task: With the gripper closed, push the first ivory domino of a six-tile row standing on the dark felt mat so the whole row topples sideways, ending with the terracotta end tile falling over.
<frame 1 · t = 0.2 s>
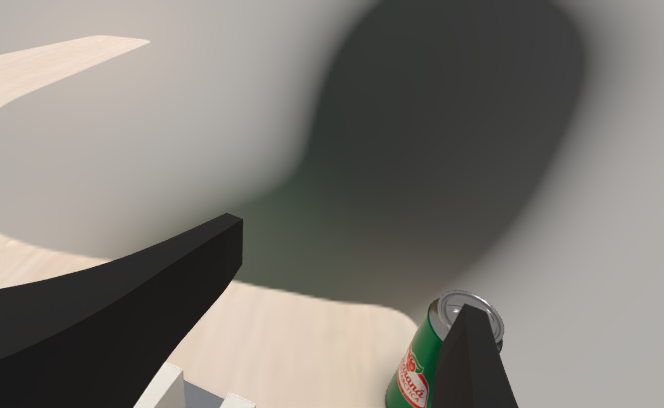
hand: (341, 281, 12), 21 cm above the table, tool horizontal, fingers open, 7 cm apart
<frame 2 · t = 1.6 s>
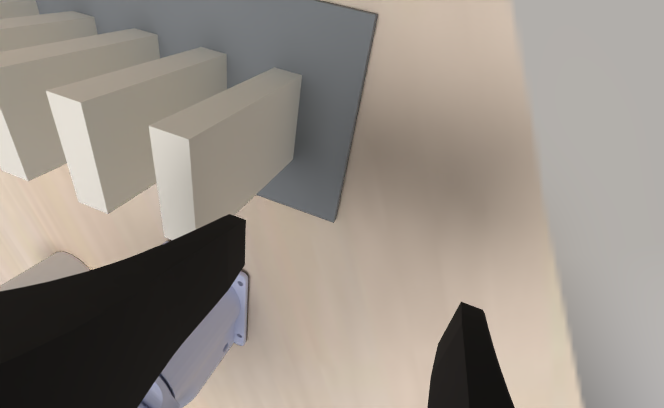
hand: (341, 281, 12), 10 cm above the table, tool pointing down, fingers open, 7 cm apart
domino 3: (151, 75, 23), resting on felt mat
domino 2: (215, 94, 22), resting on felt mat
domino 1: (284, 116, 21), resting on felt mat
domino 5: (38, 40, 25), resting on felt mat
felt mat: (123, 63, 24), on the table
drinking glass: (77, 271, 41), on the table
domino 4: (92, 57, 24), resting on felt mat
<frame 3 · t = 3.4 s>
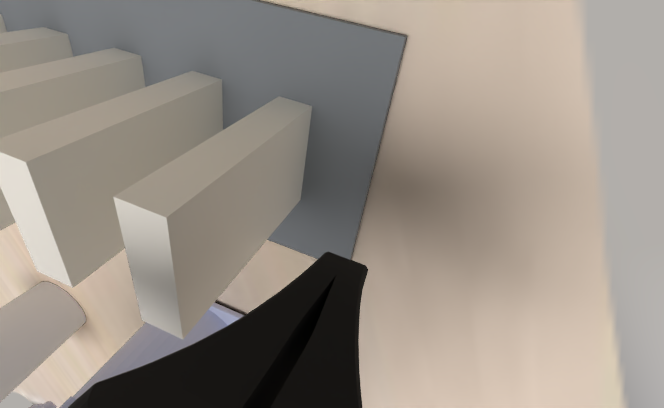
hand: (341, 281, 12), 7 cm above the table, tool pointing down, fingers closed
domino 3: (135, 101, 20), resting on felt mat
domino 2: (209, 125, 19), resting on felt mat
domino 1: (290, 151, 18), resting on felt mat
felt mat: (103, 86, 20), on the table
drinking glass: (64, 302, 38), on the table
domino 4: (68, 79, 21), resting on felt mat
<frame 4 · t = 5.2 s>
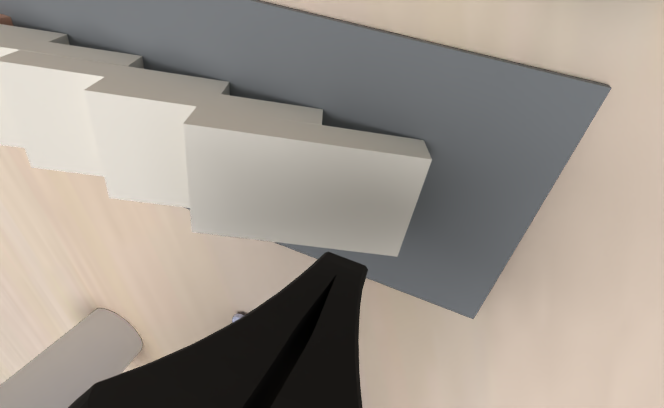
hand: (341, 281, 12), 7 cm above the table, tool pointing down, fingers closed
domino 3: (226, 139, 18), point 1 cm above the table, tilted 70°, touching domino 2, domino 4, felt mat
domino 2: (314, 168, 17), point 1 cm above the table, tilted 70°, touching domino 1, domino 3, felt mat
domino 1: (409, 201, 16), point 1 cm above the table, tilted 70°, touching domino 2
domino 5: (70, 88, 20), point 1 cm above the table, tilted 68°, touching domino 4, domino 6
felt mat: (212, 122, 19), on the table
drinking glass: (119, 328, 36), on the table
domino 4: (142, 111, 19), point 1 cm above the table, tilted 68°, touching domino 3, domino 5, felt mat
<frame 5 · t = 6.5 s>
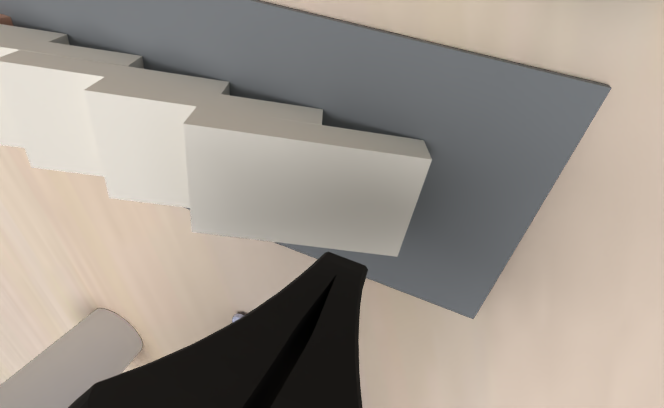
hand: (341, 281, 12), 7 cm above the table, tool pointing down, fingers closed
domino 3: (226, 139, 18), point 1 cm above the table, tilted 70°, touching domino 2, domino 4, felt mat
domino 2: (314, 168, 17), point 1 cm above the table, tilted 70°, touching domino 1, domino 3, felt mat
domino 1: (409, 201, 16), point 1 cm above the table, tilted 70°, touching domino 2
domino 5: (70, 88, 20), point 1 cm above the table, tilted 68°, touching domino 4, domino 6
felt mat: (212, 122, 19), on the table
drinking glass: (119, 328, 36), on the table
domino 4: (142, 111, 19), point 1 cm above the table, tilted 68°, touching domino 3, domino 5, felt mat
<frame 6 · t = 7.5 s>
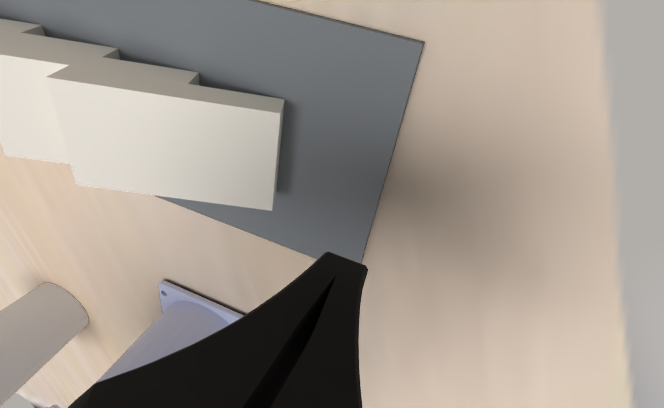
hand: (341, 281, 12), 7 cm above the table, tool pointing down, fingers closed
domino 3: (119, 103, 19), point 1 cm above the table, tilted 70°, touching domino 2, domino 4, felt mat
domino 2: (196, 129, 18), point 1 cm above the table, tilted 70°, touching domino 1, domino 3, felt mat
domino 1: (278, 157, 17), point 1 cm above the table, tilted 70°, touching domino 2
felt mat: (112, 89, 20), on the table
drinking glass: (66, 303, 37), on the table
domino 4: (46, 78, 20), point 1 cm above the table, tilted 68°, touching domino 3, domino 5, felt mat
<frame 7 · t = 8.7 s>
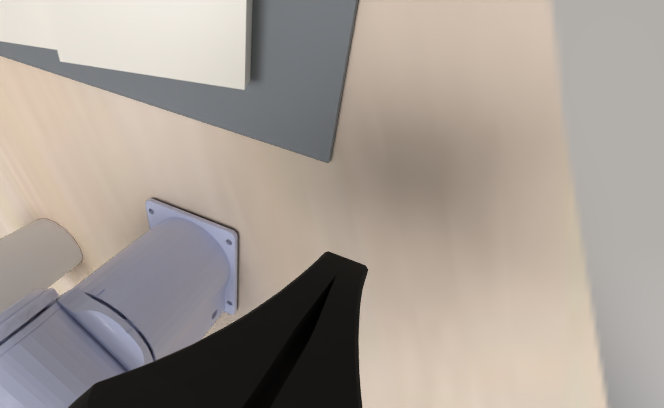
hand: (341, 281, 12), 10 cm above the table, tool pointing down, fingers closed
domino 2: (173, 14, 19), point 1 cm above the table, tilted 70°, touching domino 1, domino 3, felt mat
domino 1: (248, 34, 18), point 1 cm above the table, tilted 70°, touching domino 2
drinking glass: (60, 241, 39), on the table
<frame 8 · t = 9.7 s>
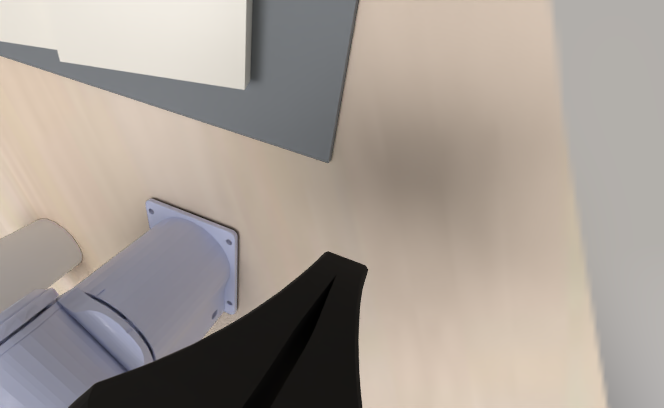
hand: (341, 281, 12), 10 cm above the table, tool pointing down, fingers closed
domino 2: (173, 14, 19), point 1 cm above the table, tilted 70°, touching domino 1, domino 3, felt mat
domino 1: (248, 34, 18), point 1 cm above the table, tilted 70°, touching domino 2
drinking glass: (61, 241, 39), on the table
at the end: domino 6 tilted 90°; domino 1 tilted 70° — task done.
